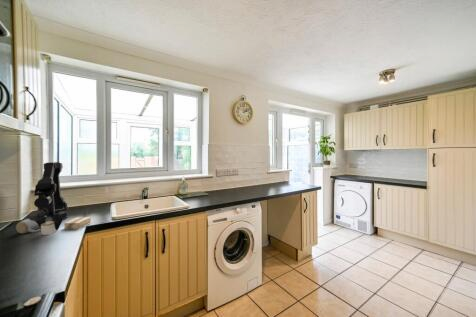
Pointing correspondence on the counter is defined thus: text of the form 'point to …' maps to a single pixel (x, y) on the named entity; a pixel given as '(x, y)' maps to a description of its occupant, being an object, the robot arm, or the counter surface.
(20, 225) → the ceramic mug
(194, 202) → the counter surface
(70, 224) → the oak block
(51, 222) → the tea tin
